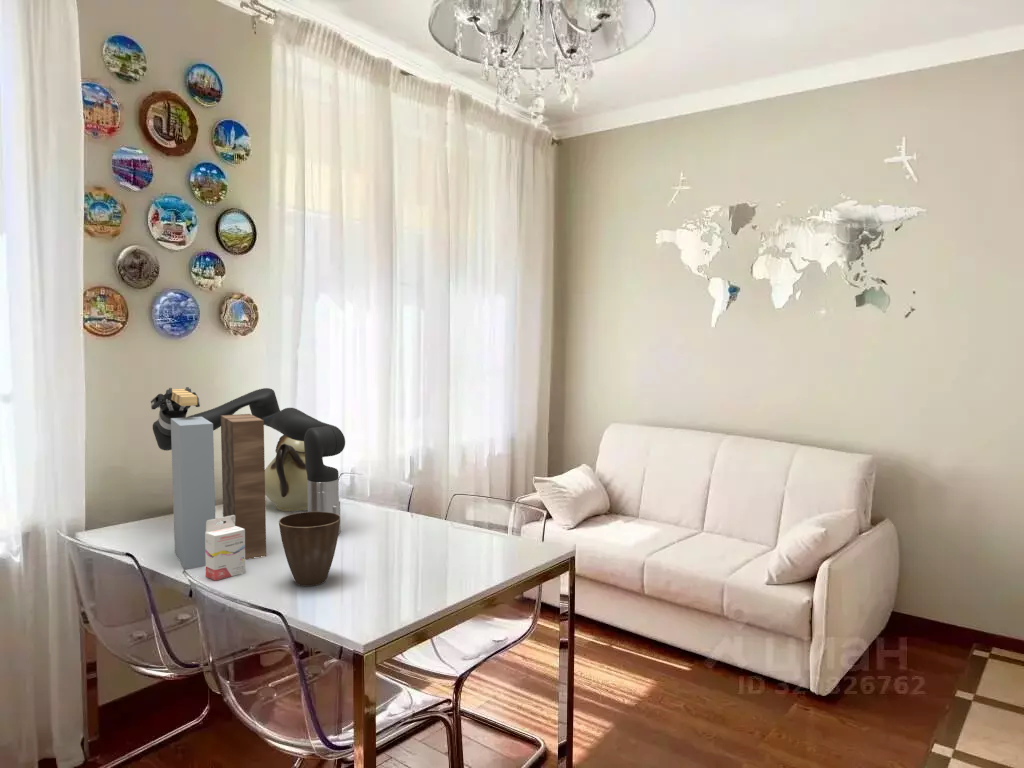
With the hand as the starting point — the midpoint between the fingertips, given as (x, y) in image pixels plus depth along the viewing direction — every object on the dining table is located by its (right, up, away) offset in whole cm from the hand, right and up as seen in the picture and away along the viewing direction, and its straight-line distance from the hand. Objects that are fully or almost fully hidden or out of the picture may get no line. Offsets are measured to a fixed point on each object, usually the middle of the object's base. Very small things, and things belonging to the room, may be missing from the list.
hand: (179, 390), depth 212 cm
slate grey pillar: (+10, -46, -12) cm, 48 cm away
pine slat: (+2, -3, -4) cm, 5 cm away
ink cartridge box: (+23, -47, -24) cm, 58 cm away
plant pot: (+46, -48, -28) cm, 72 cm away
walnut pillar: (+21, -45, -5) cm, 50 cm away
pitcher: (+21, -41, +43) cm, 63 cm away
